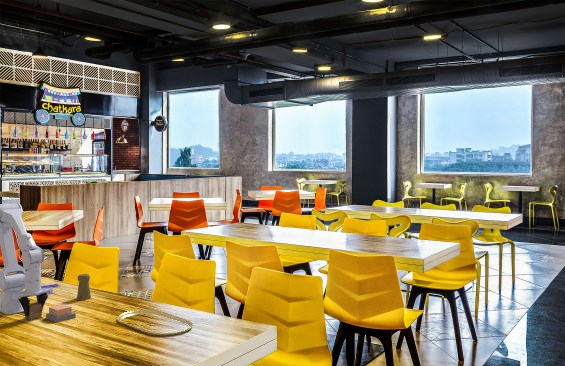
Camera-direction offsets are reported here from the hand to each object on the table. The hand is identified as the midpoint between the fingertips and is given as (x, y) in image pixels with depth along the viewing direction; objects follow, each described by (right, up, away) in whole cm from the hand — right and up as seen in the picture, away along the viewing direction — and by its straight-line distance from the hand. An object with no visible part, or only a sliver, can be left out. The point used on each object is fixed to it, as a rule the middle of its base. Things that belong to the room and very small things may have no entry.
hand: (33, 314), depth 210 cm
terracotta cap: (+11, 0, 0) cm, 11 cm away
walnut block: (0, -1, 0) cm, 1 cm away
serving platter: (+49, -3, -6) cm, 49 cm away
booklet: (-11, 0, +44) cm, 45 cm away
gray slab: (+11, -2, 0) cm, 11 cm away
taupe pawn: (+8, -1, +31) cm, 32 cm away
